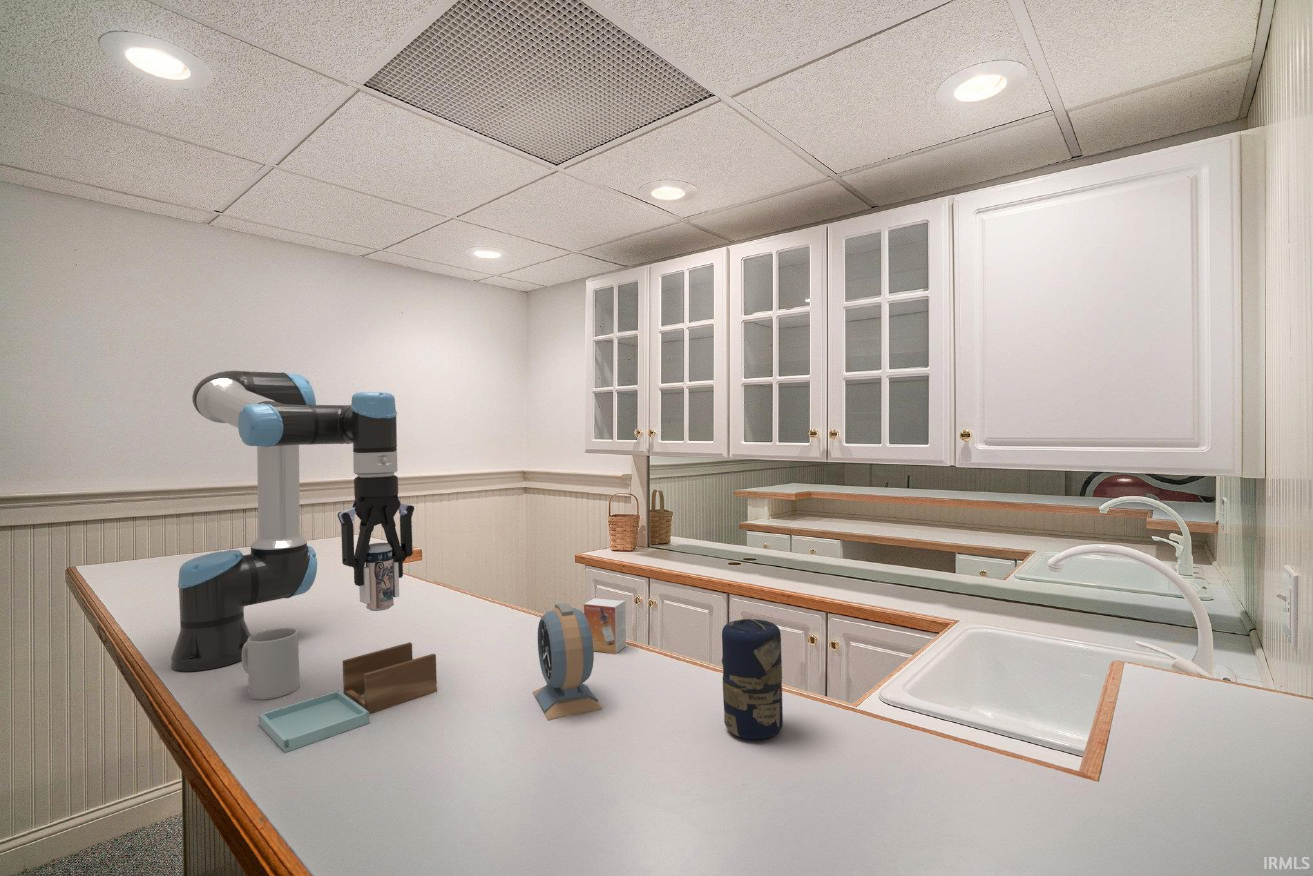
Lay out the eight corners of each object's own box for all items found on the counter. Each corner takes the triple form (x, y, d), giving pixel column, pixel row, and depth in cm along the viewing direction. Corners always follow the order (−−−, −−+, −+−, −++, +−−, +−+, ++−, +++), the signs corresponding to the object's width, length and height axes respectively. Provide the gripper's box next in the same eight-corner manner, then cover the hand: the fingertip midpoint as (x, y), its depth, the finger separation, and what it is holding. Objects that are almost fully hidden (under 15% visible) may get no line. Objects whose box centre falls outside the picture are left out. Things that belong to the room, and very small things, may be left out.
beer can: (383, 612, 115) (381, 547, 114) (360, 611, 116) (358, 546, 115) (399, 605, 119) (397, 542, 119) (376, 604, 120) (374, 542, 120)
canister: (746, 750, 95) (743, 632, 95) (712, 725, 103) (710, 616, 103) (795, 734, 99) (793, 622, 99) (759, 711, 108) (757, 607, 108)
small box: (583, 650, 140) (582, 603, 140) (595, 642, 145) (594, 597, 145) (616, 654, 137) (614, 606, 137) (626, 646, 142) (625, 600, 142)
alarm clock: (531, 691, 119) (528, 598, 118) (581, 682, 123) (578, 592, 122) (549, 723, 106) (546, 618, 105) (604, 711, 109) (601, 610, 109)
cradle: (343, 697, 118) (342, 660, 118) (410, 676, 127) (409, 642, 127) (367, 714, 110) (366, 675, 110) (436, 691, 120) (435, 654, 120)
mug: (310, 684, 125) (308, 629, 125) (272, 702, 117) (270, 643, 116) (263, 678, 128) (261, 625, 128) (224, 695, 120) (222, 639, 120)
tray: (259, 725, 107) (258, 714, 107) (339, 700, 117) (338, 690, 117) (284, 752, 98) (284, 741, 98) (369, 722, 107) (369, 712, 107)
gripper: (333, 479, 108) (337, 613, 108) (430, 472, 121) (434, 592, 121) (317, 477, 113) (321, 606, 113) (412, 471, 126) (415, 586, 127)
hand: (379, 598), depth 117 cm, fingers closed on beer can, 5 cm apart
